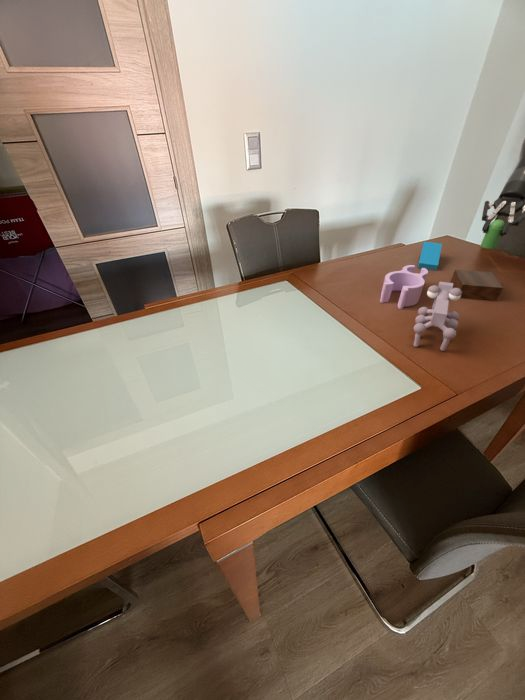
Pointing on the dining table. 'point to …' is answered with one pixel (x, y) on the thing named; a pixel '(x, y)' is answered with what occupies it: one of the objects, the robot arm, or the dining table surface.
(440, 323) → the mauve bug toy
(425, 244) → the blue rectangular brick
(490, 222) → the robot arm
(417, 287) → the clip
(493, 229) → the green toy
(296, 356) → the dining table surface
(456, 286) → the walnut block
